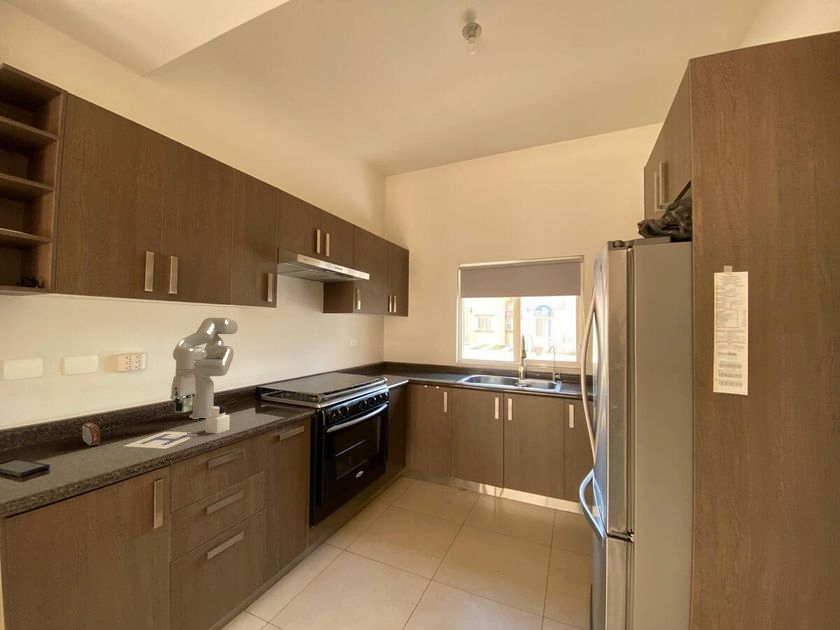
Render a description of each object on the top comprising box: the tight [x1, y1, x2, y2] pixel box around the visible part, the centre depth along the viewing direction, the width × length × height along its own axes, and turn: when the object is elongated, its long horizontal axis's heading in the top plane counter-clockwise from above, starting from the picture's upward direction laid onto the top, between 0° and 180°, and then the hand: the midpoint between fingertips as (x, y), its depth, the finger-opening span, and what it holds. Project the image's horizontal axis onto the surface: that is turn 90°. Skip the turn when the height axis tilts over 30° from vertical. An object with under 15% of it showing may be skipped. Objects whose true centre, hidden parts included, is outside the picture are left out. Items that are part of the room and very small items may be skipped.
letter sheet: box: [124, 430, 190, 450], centre depth 148 cm, size 20×20×1 cm
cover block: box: [174, 397, 193, 413], centre depth 164 cm, size 5×5×6 cm
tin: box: [81, 421, 101, 447], centre depth 142 cm, size 15×3×8 cm, turn 57°
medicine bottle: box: [205, 404, 231, 435], centre depth 160 cm, size 7×7×12 cm
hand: (183, 409), depth 164 cm, fingers closed on cover block, 5 cm apart
